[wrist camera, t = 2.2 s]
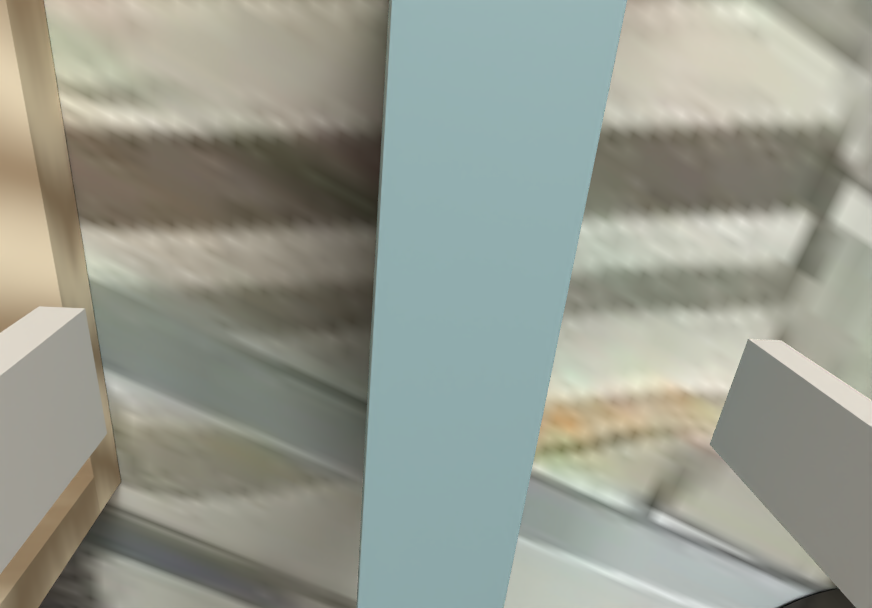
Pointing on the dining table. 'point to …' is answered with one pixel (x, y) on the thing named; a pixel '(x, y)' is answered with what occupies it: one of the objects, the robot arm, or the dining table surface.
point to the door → (471, 280)
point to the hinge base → (43, 275)
